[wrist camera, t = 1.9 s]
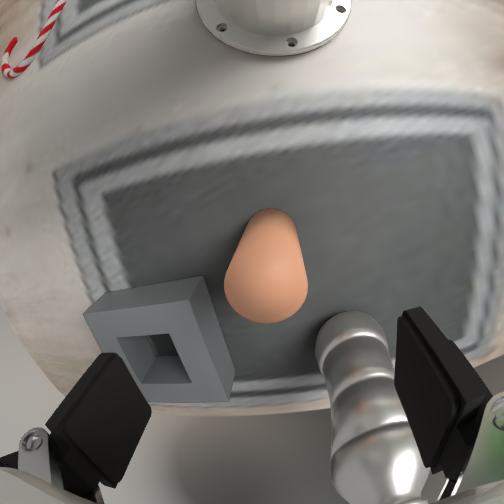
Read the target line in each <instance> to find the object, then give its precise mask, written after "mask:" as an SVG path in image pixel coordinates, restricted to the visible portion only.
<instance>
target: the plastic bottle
mask: <svg viewBox="0 0 504 504" xmlns="http://www.w3.org/2000/svg"><path fill="white" fill-rule="evenodd" d="M315 357H316V360H317V363H318V366H319V369H320V371H321V373H322V375H323V377H324V380H325V383H326V387H327V390H328V394H329V398H330V404H331V417H332V429H333V431H332V448H331V461H330V477H331V480H332V481H333V484H334V486H335V488H336V490H337V492H339V494H341V496H342V497H343V498H344V499H346V501H347V502H349V503H350V504H428V501H427V499H426V498H421V490H422V488H423V486H424V484H425V482H426V479H427V477H428V474H429V471H430V467H429V468H425V466H424V464H423V462H422V459H421V456H420V453H419V450H418V447H417V444H416V441H415V439H414V436H413V433H412V430H411V428H410V425H409V422H408V420H407V417H406V414H405V412H404V409H403V407H402V404H401V402H400V399H399V397H398V394H397V392H396V389H395V385H394V374H395V371H394V368H393V365H392V361H391V358H390V355H389V351H388V344H387V340H386V337H385V333H384V331H383V329H382V327H381V326H380V325H379V324H378V323H377V322H376V320H375V319H374V318H373V317H371V316H370V315H369V314H366V313H364V312H360V311H347V312H342V313H340V314H337V315H335V316H333V317H332V318H330V319H329V320H328V321H327V322H326V323H325V324H324V325H323V326H322V327H321V329H320V330H319V332H318V335H317V339H316V346H315Z"/></svg>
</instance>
